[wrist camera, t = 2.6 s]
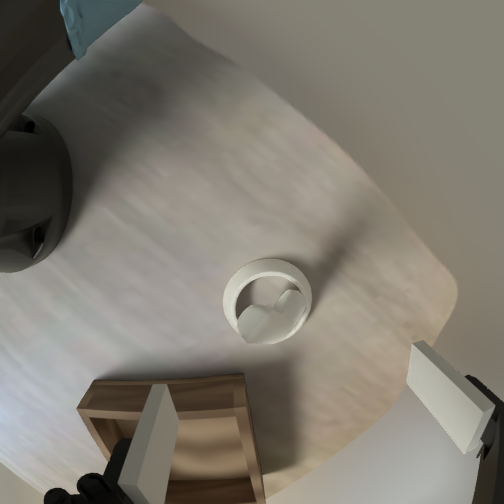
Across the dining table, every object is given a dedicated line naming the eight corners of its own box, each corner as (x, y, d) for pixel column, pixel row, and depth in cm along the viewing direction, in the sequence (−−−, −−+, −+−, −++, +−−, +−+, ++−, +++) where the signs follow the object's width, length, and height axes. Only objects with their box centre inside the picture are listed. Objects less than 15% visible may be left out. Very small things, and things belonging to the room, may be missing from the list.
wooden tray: (93, 380, 26) (76, 408, 21) (243, 373, 27) (246, 406, 22) (145, 478, 30) (139, 504, 25) (262, 475, 31) (266, 504, 26)
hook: (210, 203, 19) (310, 252, 16) (267, 255, 29) (331, 289, 26) (150, 307, 18) (237, 375, 15) (228, 321, 29) (288, 360, 26)
